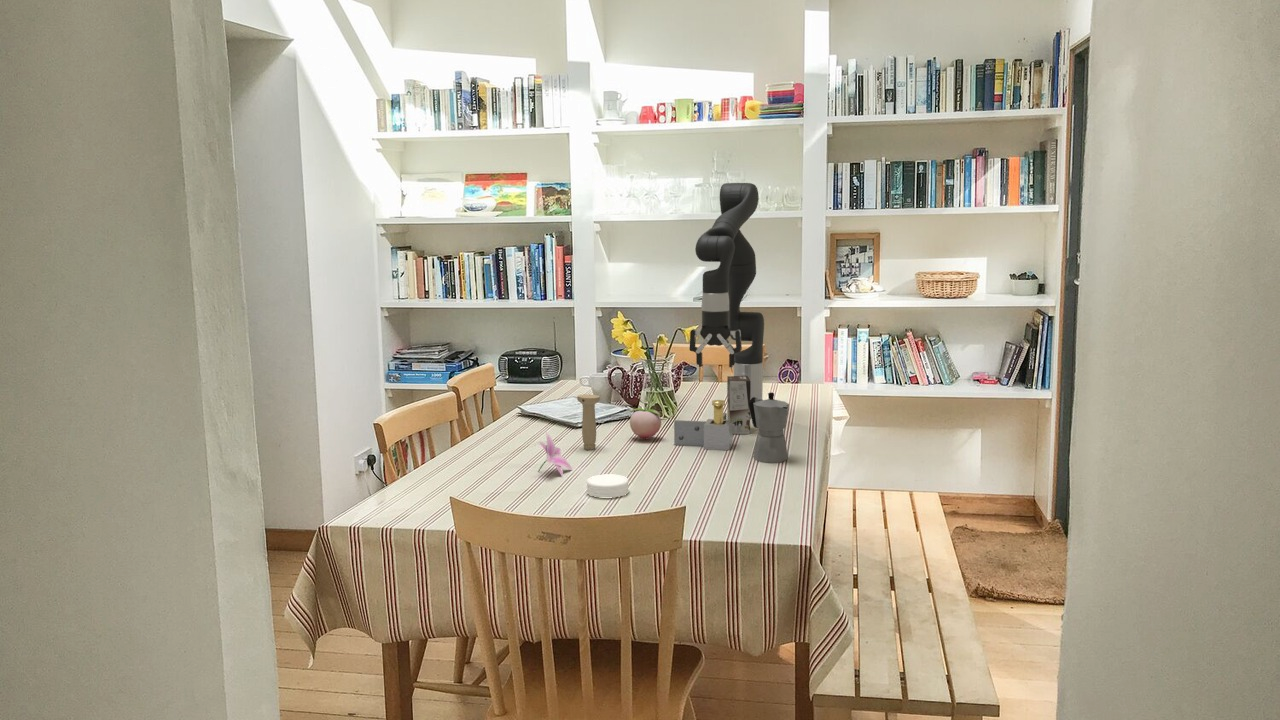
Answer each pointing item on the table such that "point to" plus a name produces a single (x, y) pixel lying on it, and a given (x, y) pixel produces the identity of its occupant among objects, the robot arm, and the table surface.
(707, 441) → the grey corner bracket
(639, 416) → the decorative fruit
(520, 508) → the table surface
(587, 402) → the handle
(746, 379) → the coffee box
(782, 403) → the coffeepot
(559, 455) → the lily
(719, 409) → the hinge pin
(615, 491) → the white round disc
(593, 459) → the table surface
